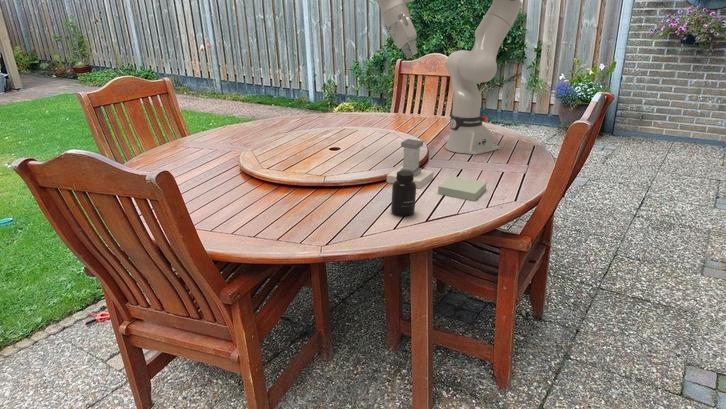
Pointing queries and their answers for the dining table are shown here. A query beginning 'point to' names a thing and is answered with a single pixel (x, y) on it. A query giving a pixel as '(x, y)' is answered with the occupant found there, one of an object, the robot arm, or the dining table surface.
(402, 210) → the supplement bottle
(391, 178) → the stand
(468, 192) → the stand
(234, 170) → the dining table surface
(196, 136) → the dining table surface
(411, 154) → the post
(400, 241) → the dining table surface
